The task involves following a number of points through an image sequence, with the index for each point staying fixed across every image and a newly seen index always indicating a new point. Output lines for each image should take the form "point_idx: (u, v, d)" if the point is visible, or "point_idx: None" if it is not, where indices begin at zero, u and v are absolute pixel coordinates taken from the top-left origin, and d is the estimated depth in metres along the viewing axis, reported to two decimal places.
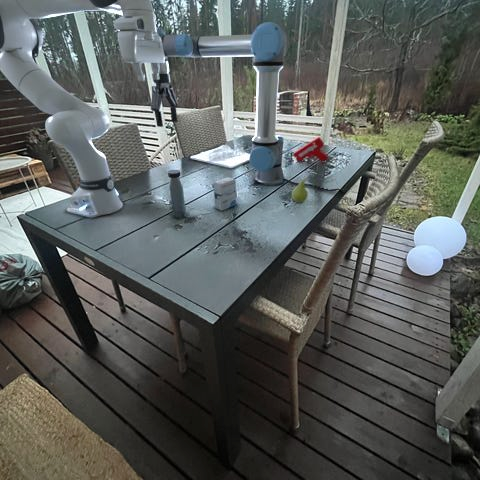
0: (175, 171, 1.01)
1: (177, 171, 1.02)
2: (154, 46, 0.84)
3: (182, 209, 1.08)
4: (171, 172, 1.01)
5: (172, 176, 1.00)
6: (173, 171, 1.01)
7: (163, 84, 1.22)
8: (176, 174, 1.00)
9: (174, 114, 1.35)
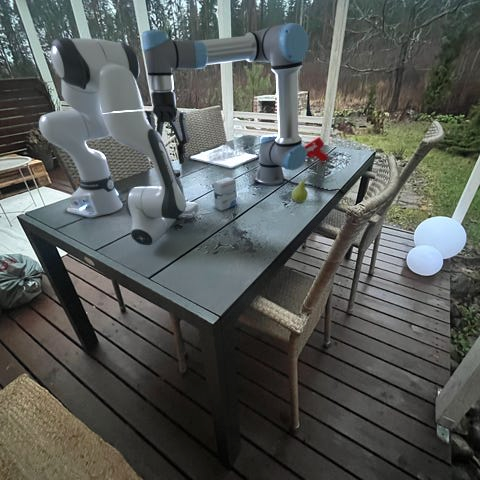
0: (175, 171, 1.01)
1: (177, 171, 1.02)
2: None
3: None
4: None
5: None
6: None
7: (161, 106, 0.89)
8: (176, 174, 1.00)
9: None
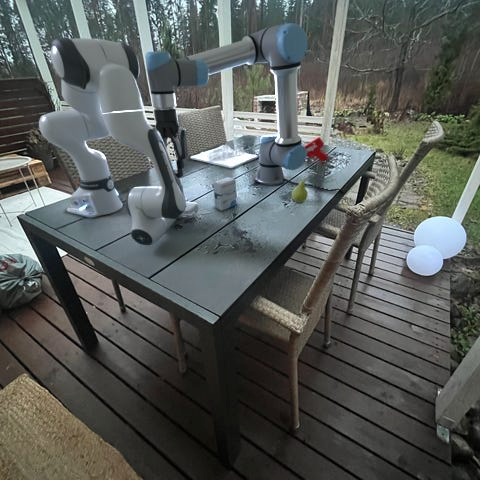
0: (175, 171, 1.01)
1: (177, 171, 1.02)
2: None
3: None
4: None
5: None
6: None
7: (163, 123, 0.92)
8: (176, 174, 1.01)
9: None
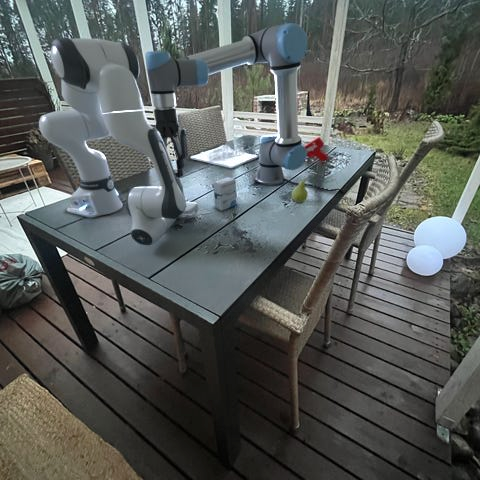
0: (174, 170, 1.02)
1: None
2: None
3: None
4: (176, 171, 1.01)
5: None
6: (175, 171, 1.01)
7: (163, 122, 0.91)
8: None
9: None
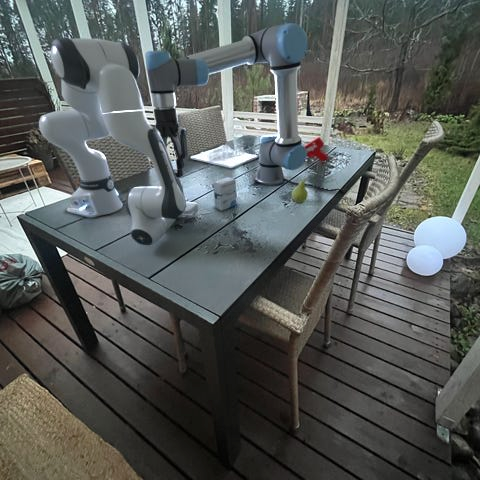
0: None
1: None
2: None
3: None
4: (174, 170, 1.02)
5: None
6: None
7: (163, 122, 0.91)
8: None
9: None
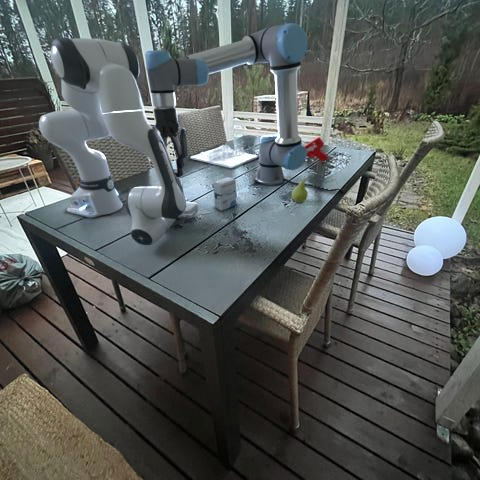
0: (175, 171, 1.01)
1: (176, 171, 1.01)
2: None
3: None
4: None
5: None
6: None
7: (163, 122, 0.91)
8: None
9: None
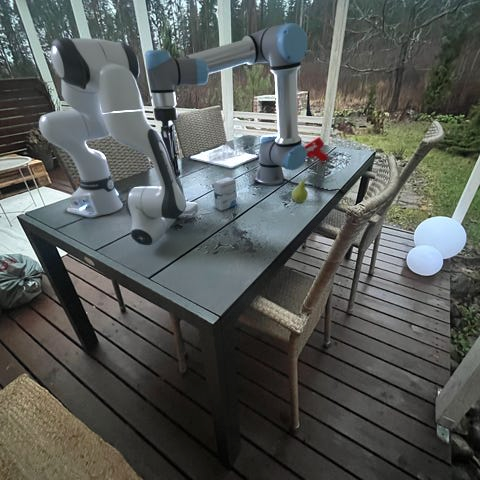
0: None
1: None
2: None
3: None
4: None
5: (179, 174, 1.01)
6: None
7: (169, 121, 0.92)
8: (179, 171, 1.02)
9: (175, 164, 1.02)
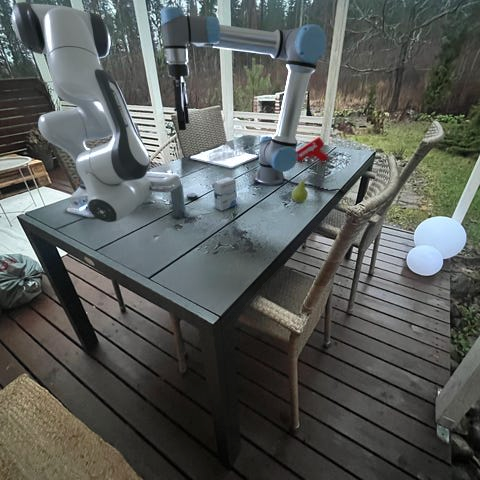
0: (192, 194, 1.26)
1: (192, 193, 1.26)
2: None
3: (182, 209, 1.08)
4: (193, 195, 1.24)
5: (196, 197, 1.25)
6: (192, 195, 1.25)
7: (181, 78, 0.99)
8: None
9: (186, 114, 1.13)
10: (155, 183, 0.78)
